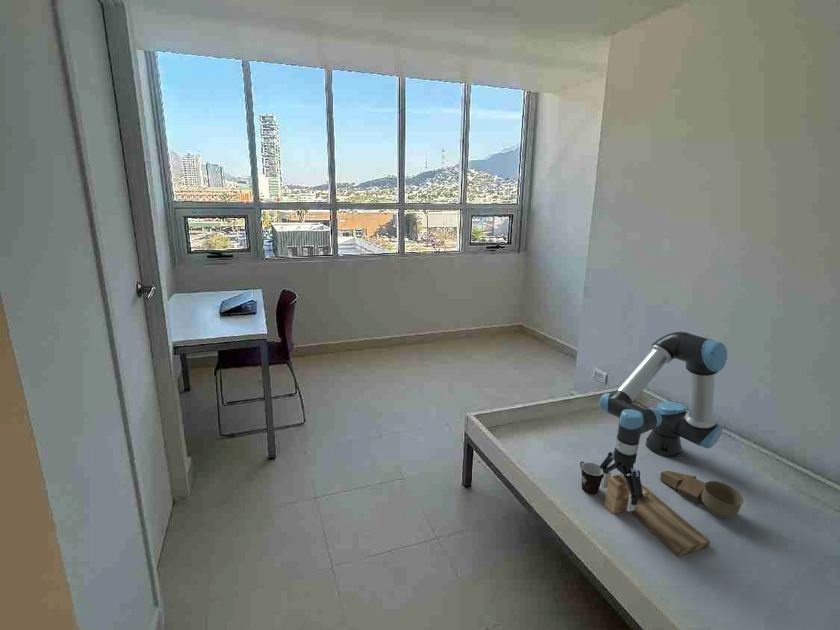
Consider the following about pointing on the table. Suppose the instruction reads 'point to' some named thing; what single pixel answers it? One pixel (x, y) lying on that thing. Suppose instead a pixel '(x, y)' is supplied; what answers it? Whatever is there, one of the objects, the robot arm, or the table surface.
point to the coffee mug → (591, 477)
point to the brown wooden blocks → (684, 484)
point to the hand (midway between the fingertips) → (617, 498)
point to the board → (668, 525)
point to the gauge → (618, 494)
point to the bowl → (721, 499)
